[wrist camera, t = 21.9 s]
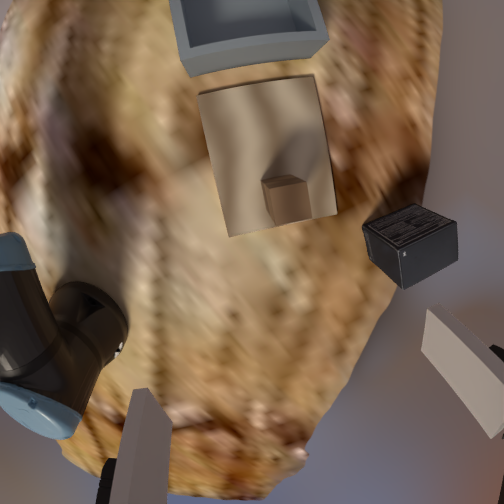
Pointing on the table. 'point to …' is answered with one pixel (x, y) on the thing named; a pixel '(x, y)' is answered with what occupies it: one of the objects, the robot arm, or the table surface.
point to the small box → (411, 244)
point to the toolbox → (245, 32)
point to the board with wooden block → (268, 154)
